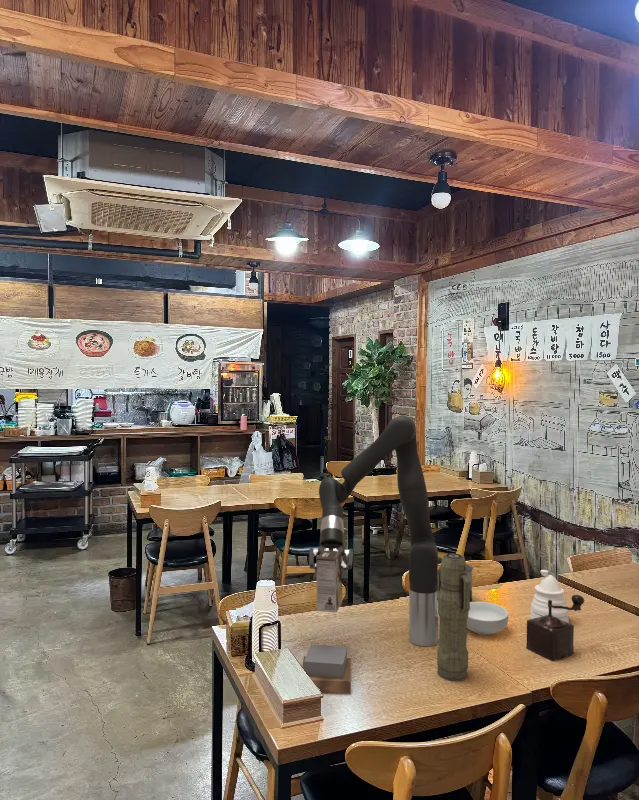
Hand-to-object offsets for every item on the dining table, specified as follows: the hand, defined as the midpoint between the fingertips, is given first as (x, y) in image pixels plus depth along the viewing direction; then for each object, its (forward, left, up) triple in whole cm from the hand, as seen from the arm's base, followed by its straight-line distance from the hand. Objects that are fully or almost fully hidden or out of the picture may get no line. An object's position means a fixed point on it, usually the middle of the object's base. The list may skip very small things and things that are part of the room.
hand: (330, 580), depth 177 cm
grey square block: (+1, +10, -22) cm, 24 cm away
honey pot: (-78, -37, -25) cm, 91 cm away
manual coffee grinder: (-72, -13, -25) cm, 78 cm away
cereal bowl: (-52, -27, -25) cm, 64 cm away
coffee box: (0, 0, -8) cm, 8 cm away
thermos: (-36, +5, -25) cm, 45 cm away
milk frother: (-46, -54, -25) cm, 75 cm away
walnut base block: (+1, +11, -26) cm, 28 cm away
